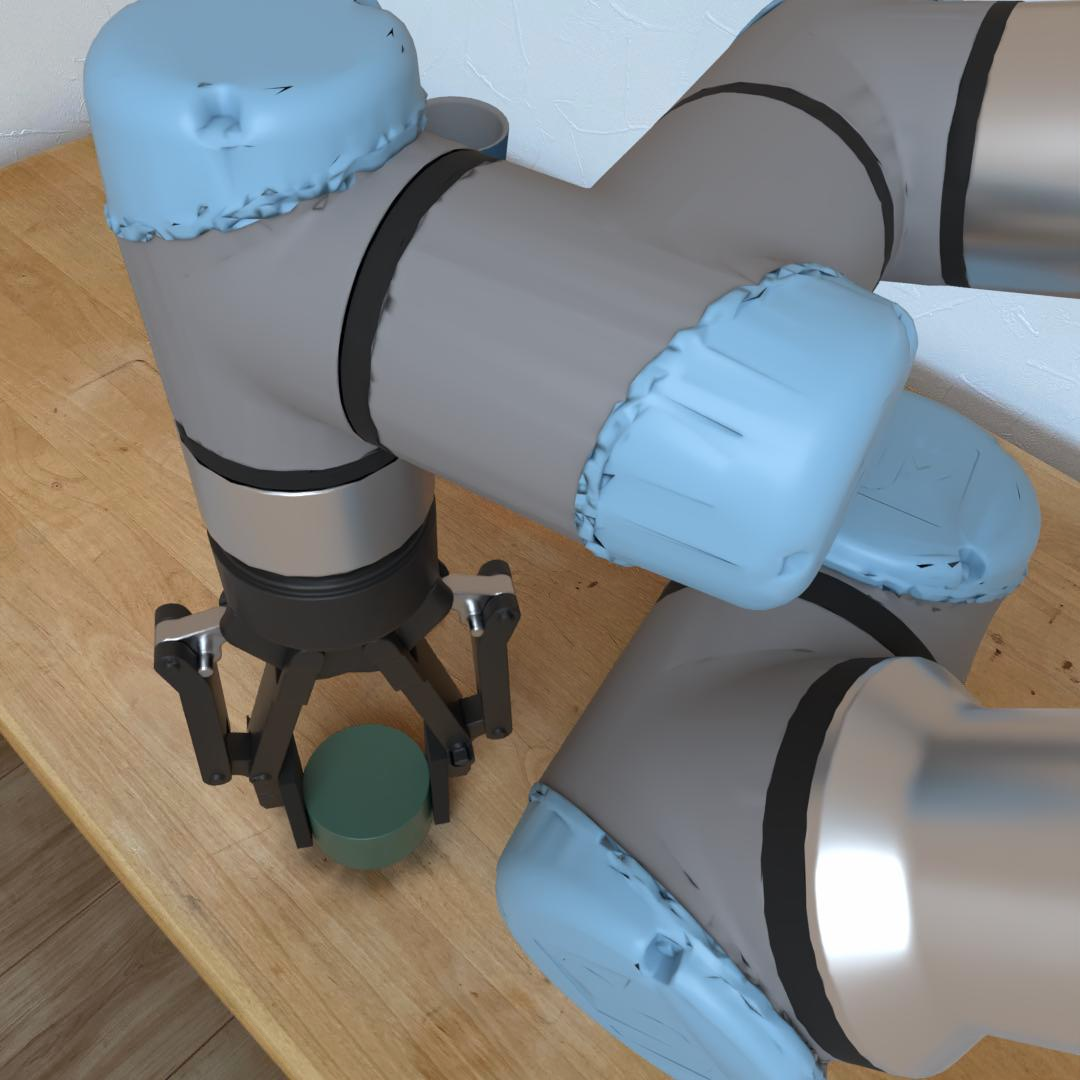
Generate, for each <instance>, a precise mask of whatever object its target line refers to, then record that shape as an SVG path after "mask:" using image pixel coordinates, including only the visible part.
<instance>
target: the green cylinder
mask: <svg viewBox="0 0 1080 1080" xmlns="http://www.w3.org/2000/svg"><path fill="white" fill-rule="evenodd" d="M302 779H303V793H304V803H305V807H306V811H307V815H308V818H309V822H310V826H311V830H312V837H313V840H314V841H315V842H316V844H317V846H318V847H319V849H320V850H321V851H322V852H323V853H324V854H325V855H326V856H327V857H328V858H329V859H331V860H332V861H334V862H336V863H337V864H339V865H341V866H344V867H346V868H350V869H354V870H362V871H371V870H379V869H383V868H387V867H389V866H393V865H395V864H397V863H398V862H400V861H403V860H404V859H405V858H406V857H409V855H410V854H411V853H413V852H414V851H415V850H416V849H417V848H418V846H420V844H421V842H423V840H424V839H425V836H426V834H427V833H428V831H429V829H430V825H431V820H432V817H433V811H432V800H431V784H430V774H429V768H428V762H427V759H426V753H425V752H424V751H423V749H422V748H421V746H419V744H418V743H417V742H416V741H415V740H414V739H413V738H412V737H411V736H409V734H407V733H405V732H404V731H402V730H400V729H398V728H395V727H392V726H389V725H385V724H380V723H379V724H378V723H362V724H357V725H351V726H349V727H345V728H343V729H341V730H339V731H336V732H335V733H333V734H331V735H330V736H329V737H327V738H326V739H325V740H323V741H322V742H321V743H320V744H319V745H318V746H316V748H315V750H314V751H313V752H312V754H311V755H310V757H309V758H308V760H307V762H306V765H305V767H304V769H303V778H302Z"/></svg>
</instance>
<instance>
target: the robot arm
mask: <svg viewBox="0 0 1080 1080" xmlns="http://www.w3.org/2000/svg"><path fill="white" fill-rule="evenodd" d="M82 87H83V88H82V89H83V98H84V103H85V107H86V112H87V117H88V120H89V125H90V130H91V135H92V139H93V144H94V148H95V153H96V159H97V163H98V167H99V171H100V176H101V181H102V185H103V190H104V194H105V195H104V196H105V199H106V201H105V204H104V206H103V213H104V218H105V221H106V223H107V226H108V228H109V230H110V231H112V233H113V234H114V235H115V238H116V240H117V244H118V247H119V250H120V253H121V256H122V260H123V263H124V266H125V269H126V273H127V275H128V278H129V283H130V284H131V287H132V291H133V294H134V297H135V300H136V304H137V307H138V309H139V313H140V316H141V319H142V323H143V326H144V328H145V332H146V336H147V338H148V341H149V344H150V347H151V350H152V351H151V352H152V354H153V357H154V360H155V363H156V367H157V369H158V373H159V377H160V379H161V383H162V386H163V389H164V393H165V396H166V399H167V402H168V406H169V409H170V411H171V414H172V417H173V420H172V421H173V424H174V428H175V431H176V434H177V435H176V436H177V438H178V441H179V445H180V448H181V452H182V455H183V459H184V462H185V465H186V466H185V467H186V468H187V473H188V476H189V479H190V483H191V486H192V489H193V493H194V497H195V500H196V503H197V504H196V505H197V507H198V510H199V514H200V517H201V519H202V521H203V523H204V525H205V528H206V535H207V539H208V541H209V542H208V543H209V546H210V549H211V552H212V555H213V559H214V562H215V566H216V568H217V573H218V575H219V579H220V583H221V585H222V589H223V590H222V591H221V593H220V595H219V599H218V605H217V606H214V607H210V608H208V609H205V610H202V611H199V612H195V613H192V612H191V611H190V610H189V609H188V608H187V607H186V606H185V605H182V604H180V603H175V602H169V603H164V604H161V605H159V606H158V607H157V608H156V609H155V611H154V630H153V633H154V634H153V670H154V671H155V673H156V674H158V675H159V676H160V677H161V678H162V679H163V680H164V681H165V682H166V683H167V684H168V685H170V687H172V689H173V690H174V691H176V692H177V693H178V695H179V696H178V697H179V700H180V703H181V707H182V711H183V715H184V717H185V721H186V725H187V728H188V733H189V735H190V740H191V743H192V747H193V751H194V754H195V757H196V762H197V766H198V768H199V772H200V776H201V781H202V782H203V783H204V784H205V785H208V786H213V787H216V786H223V785H226V784H227V783H230V782H232V780H233V776H242V777H245V778H248V781H249V783H250V784H252V786H253V788H254V792H255V794H256V795H255V796H256V797H257V801H258V803H259V805H260V806H261V807H262V808H264V809H265V810H269V809H276V808H282V807H284V808H285V812H286V816H287V819H288V822H289V826H290V829H291V833H292V835H293V836H292V837H293V840H294V842H295V846H296V849H297V850H299V849H304V848H305V849H306V848H311V847H314V836H313V833H312V830H311V826H310V822H309V818H308V815H307V811H306V807H305V803H304V793H303V779H302V778H303V773H304V769H303V766H302V762H301V761H302V760H301V757H300V752H299V749H298V746H297V742H296V738H295V734H294V731H295V729H296V728H295V727H296V725H297V722H298V720H299V716H300V714H301V711H302V708H303V706H308V704H309V701H310V698H311V695H312V694H313V693H312V692H313V690H314V686H315V684H316V682H317V681H321V680H327V679H331V678H334V677H338V676H341V675H345V674H348V673H363V674H365V673H367V674H368V673H375V672H380V673H381V674H382V676H383V678H384V679H385V680H386V681H387V682H388V684H389V685H390V686H391V688H392V689H393V690H394V691H395V692H399V691H400V692H402V694H403V695H404V696H405V698H407V700H408V702H409V703H410V705H412V707H413V709H414V710H415V711H416V712H417V714H418V715H419V716H420V718H422V722H423V723H422V724H423V738H424V754H425V756H426V759H427V762H428V768H429V774H430V784H431V800H432V817H433V823H434V826H437V825H444V824H449V823H451V817H450V815H451V813H450V812H451V811H450V787H449V779H452V778H457V777H463V776H467V775H468V774H469V773H470V771H471V769H472V765H473V764H475V762H476V755H475V751H474V746H473V745H474V744H473V741H475V740H476V739H477V738H479V737H481V736H483V735H485V737H486V739H489V740H493V741H494V740H495V741H496V740H502V739H506V738H507V737H508V736H510V735H512V733H513V715H512V700H511V699H512V698H511V684H510V668H509V653H508V651H509V650H508V643H509V641H510V640H511V638H512V636H513V634H514V632H515V631H516V628H517V626H518V624H519V622H520V620H521V618H522V617H521V616H522V613H521V608H520V605H519V601H518V596H517V592H516V589H515V584H514V581H513V576H512V571H511V567H510V564H509V562H508V561H506V560H504V559H499V558H497V559H491V560H487V561H485V562H484V563H483V564H482V565H481V566H480V567H479V569H478V571H477V573H476V575H474V574H455V573H452V574H451V573H450V571H449V568H448V566H447V565H446V564H445V563H444V562H443V561H442V560H441V559H440V558H439V545H438V544H439V543H438V520H437V519H438V518H437V502H436V494H435V491H436V477H438V478H441V479H443V480H446V481H448V482H450V483H451V484H454V485H456V486H458V487H460V488H462V489H463V490H464V489H465V490H466V491H469V492H471V493H473V494H475V495H476V496H479V497H480V498H483V499H485V500H487V501H490V502H492V503H494V504H496V505H497V506H500V507H502V508H504V509H506V510H508V511H511V512H512V513H515V514H517V515H519V516H521V517H522V518H525V519H527V520H530V521H531V522H533V523H535V524H537V525H540V526H542V527H544V528H546V529H549V530H550V531H553V532H555V533H556V534H559V535H561V536H563V537H565V538H567V539H570V540H572V541H574V542H575V543H577V544H579V545H582V546H584V547H585V548H586V549H587V550H589V551H590V552H591V553H592V554H593V556H594V557H596V558H600V559H604V560H607V561H608V563H613V564H615V565H618V566H620V567H623V568H631V567H638V568H641V569H644V570H645V571H649V572H651V573H653V574H656V575H659V576H661V577H663V578H665V579H668V581H667V583H666V584H665V586H664V588H663V589H662V591H661V593H660V594H659V596H658V598H657V599H656V601H655V603H654V604H653V606H652V607H651V608H650V610H649V611H648V612H647V614H646V615H645V617H644V618H643V620H642V621H641V622H640V624H639V626H638V627H637V629H636V630H635V632H634V633H633V635H632V637H631V638H630V639H629V641H628V643H627V644H626V646H625V647H624V648H623V650H622V652H621V653H620V655H619V656H618V658H617V660H616V661H615V662H614V664H613V666H612V667H611V668H610V670H609V672H608V673H607V675H606V676H605V678H604V680H603V681H602V683H601V684H600V685H599V687H598V689H597V691H596V692H595V693H594V694H593V697H592V698H591V700H590V701H589V703H588V704H587V706H586V707H585V709H584V710H583V712H582V713H581V715H580V717H579V718H578V719H577V721H576V723H575V724H574V726H573V727H572V729H571V730H570V731H569V734H568V735H567V736H566V738H565V739H564V741H563V742H562V744H561V746H560V747H559V748H558V750H557V752H556V753H555V754H554V756H553V758H552V760H551V761H550V762H549V764H548V766H547V767H546V769H545V770H544V772H543V774H542V775H541V776H540V778H539V779H538V781H536V782H534V783H533V784H532V786H531V787H530V788H529V792H528V798H527V799H528V803H527V805H526V807H525V809H524V810H523V813H522V815H521V816H520V818H519V820H518V822H517V824H516V825H515V827H514V829H513V831H512V833H511V835H510V837H509V839H508V840H507V843H506V844H505V846H504V848H503V850H502V852H501V854H500V855H499V857H498V861H497V864H496V868H495V873H496V876H495V886H494V887H495V897H496V904H497V908H498V912H499V913H500V917H501V918H502V920H503V923H504V924H505V926H506V928H507V930H508V932H509V933H510V935H511V937H512V938H513V939H514V940H515V942H516V944H517V945H518V946H519V947H520V949H521V950H522V951H523V953H524V954H525V955H526V956H527V957H528V958H529V960H530V961H531V963H533V964H534V965H535V967H536V968H537V969H538V970H539V971H540V972H541V973H542V974H543V975H544V977H546V978H547V980H549V982H550V983H551V984H552V985H554V986H555V987H556V988H557V989H558V990H559V991H560V992H561V993H562V994H563V995H564V996H565V997H566V998H567V999H569V1000H570V1001H571V1002H572V1003H573V1004H574V1005H576V1007H577V1008H579V1009H580V1010H581V1011H582V1012H583V1013H584V1014H586V1016H588V1017H589V1018H590V1019H591V1020H593V1021H594V1022H595V1023H596V1024H597V1025H599V1026H600V1027H601V1028H603V1030H605V1031H606V1032H608V1033H609V1034H610V1035H611V1036H613V1037H614V1038H615V1039H616V1040H618V1041H619V1042H620V1043H622V1044H623V1045H624V1046H626V1048H629V1049H630V1050H631V1051H632V1052H634V1053H635V1054H637V1055H638V1056H639V1057H641V1058H642V1059H643V1060H645V1061H647V1062H648V1063H649V1064H651V1065H652V1066H654V1067H655V1068H657V1069H658V1070H660V1071H661V1072H663V1073H664V1074H666V1075H668V1076H669V1077H671V1078H672V1079H674V1080H828V1065H829V1064H831V1063H832V1062H839V1063H845V1064H850V1065H855V1066H858V1067H862V1068H866V1069H870V1070H874V1071H877V1072H880V1073H884V1074H889V1075H893V1076H897V1077H902V1078H907V1079H911V1080H918V1079H927V1078H931V1077H933V1076H936V1075H939V1074H941V1073H943V1072H945V1071H946V1070H947V1069H950V1067H952V1066H954V1065H955V1064H956V1063H957V1062H958V1061H959V1060H960V1059H961V1058H962V1057H964V1056H965V1055H966V1054H967V1053H968V1052H969V1051H970V1050H971V1049H972V1048H974V1046H976V1045H977V1044H978V1043H979V1042H980V1041H981V1040H982V1039H983V1038H985V1037H986V1036H990V1037H995V1038H999V1039H1004V1040H1007V1041H1013V1042H1017V1043H1022V1044H1026V1045H1030V1046H1035V1047H1040V1048H1045V1049H1049V1050H1053V1051H1058V1052H1062V1053H1067V1054H1071V1055H1075V1056H1080V707H987V706H984V705H982V704H981V703H980V701H979V700H978V699H977V698H976V696H974V695H973V693H971V692H970V690H968V688H967V687H966V686H965V685H966V682H967V680H968V677H969V674H970V671H971V668H972V666H973V663H974V659H975V657H976V654H977V653H978V649H979V647H980V645H981V643H982V640H983V638H984V636H985V635H986V632H987V630H988V628H989V626H990V624H991V622H992V620H993V619H994V616H995V615H996V613H997V611H998V610H999V608H1000V606H1001V605H1002V603H1003V602H1004V601H1005V599H1006V598H1007V597H1008V596H1011V595H1012V594H1013V592H1014V591H1015V590H1017V588H1020V586H1021V584H1023V582H1024V581H1025V579H1026V577H1027V576H1028V573H1029V565H1030V559H1031V558H1032V556H1033V554H1034V552H1035V550H1036V548H1037V545H1038V543H1039V540H1040V536H1041V528H1042V514H1041V506H1040V503H1039V497H1038V495H1037V492H1036V489H1035V488H1034V485H1033V482H1032V480H1030V479H1031V478H1029V476H1028V474H1027V472H1026V471H1025V469H1024V467H1023V466H1022V465H1021V464H1020V462H1019V461H1018V460H1017V459H1016V458H1015V457H1014V456H1013V455H1011V454H1010V453H1008V452H1007V451H1006V450H1005V449H1004V448H1002V446H1001V445H1000V442H999V440H998V439H997V437H995V436H994V435H993V434H991V433H990V432H989V431H988V430H987V429H985V428H984V427H982V426H981V425H980V424H978V423H977V422H975V421H974V420H973V419H971V418H969V417H967V416H966V415H964V414H963V413H961V412H959V411H957V410H956V409H954V408H952V407H949V406H947V405H945V404H943V403H941V402H940V401H937V400H935V399H932V398H930V397H928V396H925V395H922V394H920V393H917V392H915V391H911V390H908V389H906V388H905V386H906V383H907V382H908V379H909V376H910V373H911V370H912V369H913V365H914V363H915V359H916V356H917V351H918V348H919V336H918V332H917V327H916V324H915V322H914V318H913V317H912V316H911V315H910V313H909V312H908V311H907V310H906V309H905V308H904V307H903V306H902V305H900V304H899V303H898V302H895V301H892V300H890V299H888V298H886V297H884V296H882V295H879V294H878V293H875V290H876V289H877V287H878V285H880V282H888V283H898V284H899V283H900V284H910V285H918V286H926V287H927V286H928V287H954V288H955V287H956V288H963V289H972V290H973V289H974V290H983V291H993V292H1002V293H1012V294H1023V295H1034V296H1043V297H1053V298H1063V299H1064V298H1065V299H1073V300H1074V299H1075V300H1080V0H1036V1H1035V0H1033V1H1032V0H1031V1H1030V0H1029V1H1025V0H771V2H769V3H768V4H767V5H765V6H764V7H763V8H762V9H761V10H759V11H758V12H757V13H756V15H755V16H754V17H752V19H750V21H749V22H748V23H746V25H745V26H744V27H743V28H742V29H741V30H740V31H739V33H738V34H737V35H736V37H735V38H734V39H733V41H732V42H731V44H730V45H729V46H728V47H727V48H726V49H725V51H724V52H723V53H722V54H720V56H719V57H718V58H717V59H716V60H715V61H714V62H713V63H712V64H711V65H710V66H709V67H708V68H707V70H705V72H703V73H702V75H701V76H700V77H699V78H698V79H697V80H696V81H694V83H693V84H692V85H691V86H690V87H689V89H687V90H686V91H685V92H684V94H682V95H681V96H680V98H679V99H678V100H676V102H675V103H674V104H673V105H672V106H671V107H670V108H669V109H668V110H667V111H666V112H665V113H664V114H663V115H662V116H661V117H660V118H658V120H657V121H656V122H655V123H654V124H653V125H652V126H651V127H650V128H649V129H648V130H647V131H646V132H645V133H644V134H643V135H642V136H641V137H640V138H639V139H638V140H637V141H636V142H635V143H634V144H633V145H632V146H631V147H630V148H629V149H628V150H627V151H626V152H625V153H624V154H623V155H622V156H621V157H620V158H619V159H618V160H617V161H616V162H615V163H613V164H612V166H611V167H610V168H608V170H606V171H605V173H604V174H603V175H601V176H600V177H599V179H598V180H596V181H595V183H594V184H592V186H591V187H584V186H580V185H578V184H575V183H572V182H569V181H566V180H563V179H560V178H558V177H555V176H552V175H549V174H546V173H543V172H540V171H537V170H535V169H534V170H533V169H532V168H529V167H525V166H524V165H520V164H517V163H514V162H511V161H508V160H507V159H506V160H502V159H499V158H496V157H493V156H490V155H487V154H484V153H481V152H480V151H479V150H477V149H474V148H471V147H469V146H466V145H463V144H460V143H457V142H454V141H451V140H448V139H445V138H442V137H439V136H437V135H435V134H434V133H432V132H430V131H428V130H426V127H425V126H426V123H427V118H426V115H427V101H426V100H428V96H429V94H428V92H427V90H425V88H424V87H423V86H422V84H421V77H420V67H419V58H418V52H417V48H416V45H415V42H414V39H413V36H412V35H411V33H410V30H409V29H408V27H407V26H406V23H405V22H403V21H402V20H401V19H400V18H399V17H398V16H396V15H395V14H394V13H392V11H390V10H388V9H384V8H383V7H382V6H381V4H380V3H379V1H378V0H136V1H134V2H131V3H128V4H126V5H125V6H124V7H122V8H121V9H120V10H118V11H117V12H116V13H114V14H113V15H112V16H111V17H110V18H109V19H108V20H107V21H106V22H105V23H104V24H103V25H102V26H101V28H100V29H99V31H98V33H97V34H96V36H95V37H94V38H93V40H92V41H91V44H90V45H89V48H88V51H87V53H86V55H85V60H84V63H83V72H82ZM904 388H905V389H904ZM451 610H452V611H455V612H457V614H458V620H459V623H460V624H461V625H462V626H465V627H468V629H469V634H470V643H471V651H472V660H473V668H474V669H473V670H474V676H475V677H474V679H475V685H476V687H475V688H476V693H475V694H472V695H469V696H466V697H464V695H463V694H462V692H461V690H460V689H459V688H458V685H456V683H455V682H454V680H453V679H452V677H451V675H450V674H449V673H448V671H447V669H446V668H445V666H444V665H443V663H442V662H441V660H440V659H439V657H438V656H437V654H436V653H435V651H434V650H433V648H432V647H431V645H430V644H429V642H428V641H427V639H426V636H428V634H429V633H430V632H431V631H433V630H434V628H436V627H437V626H438V625H439V624H440V623H441V622H442V621H443V620H444V619H445V618H446V617H447V616H448V615H449V613H450V612H451ZM226 643H228V644H229V645H231V646H233V647H234V648H236V649H238V650H241V651H242V652H245V653H246V654H248V655H251V656H252V657H254V658H256V659H258V660H260V661H262V662H264V663H265V665H264V669H263V672H262V676H261V679H260V683H259V687H258V690H257V693H256V697H255V700H254V704H253V706H252V710H251V714H246V715H245V717H246V732H245V731H243V732H241V731H240V732H238V731H237V732H236V731H232V727H231V722H230V717H229V713H228V708H227V704H226V698H225V694H224V690H223V684H222V680H221V676H220V670H219V666H218V663H219V661H221V660H222V658H223V645H224V644H226Z"/></svg>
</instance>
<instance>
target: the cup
mask: <svg viewBox="0 0 1080 1080" xmlns="http://www.w3.org/2000/svg"><path fill="white" fill-rule="evenodd" d="M426 101H427V115H426V118H427V123H426V126H425V127H426V130H428V131H430V132H432V133H434V134H435V135H437V136H439V137H442V138H445V139H448V140H451V141H454V142H457V143H460V144H463V145H466V146H469V147H471V148H474V149H477V150H479V151H480V152H481V153H484V154H487V155H490V156H493V157H496V158H499V159H502V160H506V161H507V156H508V155H507V154H508V153H507V152H508V144H509V135H510V122H509V120H508V118H507V116H506V115H505V114H504V112H503V111H502V110H500V109H499V108H498V107H496V106H494V105H493V104H491V103H488V102H486V101H484V100H480V99H477V98H472V97H466V96H455V95H454V96H453V95H450V96H437V97H432V98H427V99H426Z"/></svg>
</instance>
